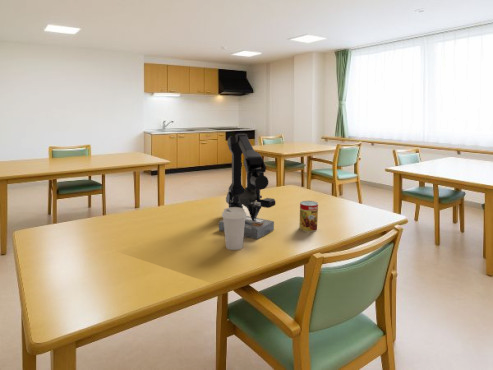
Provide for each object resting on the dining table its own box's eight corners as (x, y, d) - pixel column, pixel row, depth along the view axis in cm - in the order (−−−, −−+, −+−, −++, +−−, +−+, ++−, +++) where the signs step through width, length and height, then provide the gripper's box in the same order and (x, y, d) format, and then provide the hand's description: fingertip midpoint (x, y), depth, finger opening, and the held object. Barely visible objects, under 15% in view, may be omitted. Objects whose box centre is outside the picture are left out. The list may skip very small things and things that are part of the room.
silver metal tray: (218, 230, 163) (218, 217, 161) (237, 222, 174) (237, 210, 173) (257, 239, 152) (257, 225, 151) (273, 229, 163) (274, 217, 162)
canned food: (313, 232, 160) (314, 206, 157) (296, 229, 164) (297, 203, 161) (319, 227, 166) (320, 202, 164) (303, 224, 170) (304, 199, 168)
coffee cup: (221, 242, 148) (221, 206, 145) (245, 242, 149) (245, 206, 146) (222, 252, 139) (221, 213, 135) (247, 251, 139) (247, 213, 136)
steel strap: (229, 218, 165) (229, 216, 165) (233, 216, 168) (233, 214, 167) (260, 223, 156) (260, 222, 156) (263, 222, 159) (263, 220, 159)
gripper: (224, 185, 155) (225, 221, 158) (262, 190, 145) (262, 228, 148) (239, 181, 164) (240, 214, 167) (276, 185, 154) (275, 221, 157)
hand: (253, 219), depth 160 cm, fingers closed, pressing on steel strap
